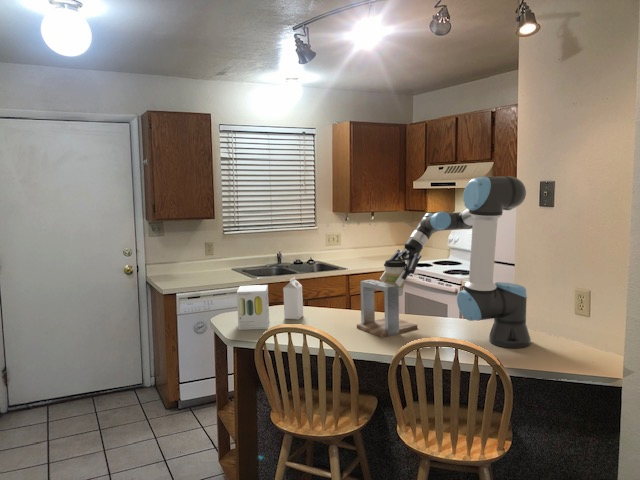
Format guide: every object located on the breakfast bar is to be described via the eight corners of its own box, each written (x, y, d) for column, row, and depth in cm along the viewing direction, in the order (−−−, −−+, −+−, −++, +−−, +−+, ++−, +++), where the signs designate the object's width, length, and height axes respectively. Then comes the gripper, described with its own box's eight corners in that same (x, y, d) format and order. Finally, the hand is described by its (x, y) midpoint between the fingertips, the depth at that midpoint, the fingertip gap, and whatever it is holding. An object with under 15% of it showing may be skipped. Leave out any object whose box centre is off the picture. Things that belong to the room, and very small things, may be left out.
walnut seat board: (417, 328, 220) (417, 325, 220) (381, 337, 209) (381, 333, 209) (391, 319, 234) (391, 316, 234) (356, 327, 223) (356, 324, 223)
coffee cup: (380, 296, 221) (380, 262, 219) (388, 291, 230) (388, 258, 228) (402, 298, 216) (402, 263, 215) (409, 293, 225) (409, 260, 223)
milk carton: (284, 319, 241) (282, 279, 239) (289, 315, 248) (288, 276, 245) (298, 319, 239) (297, 280, 237) (303, 315, 246) (302, 277, 243)
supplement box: (237, 330, 225) (235, 291, 223) (241, 322, 238) (239, 285, 236) (267, 329, 226) (266, 290, 224) (269, 320, 239) (268, 284, 237)
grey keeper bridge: (399, 333, 214) (398, 285, 211) (388, 336, 210) (387, 287, 208) (371, 324, 229) (371, 279, 226) (361, 326, 225) (360, 281, 223)
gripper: (438, 251, 220) (412, 292, 213) (403, 246, 238) (377, 283, 232) (429, 240, 216) (402, 281, 209) (394, 235, 235) (368, 273, 228)
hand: (389, 282), depth 220 cm, fingers closed on coffee cup, 10 cm apart
